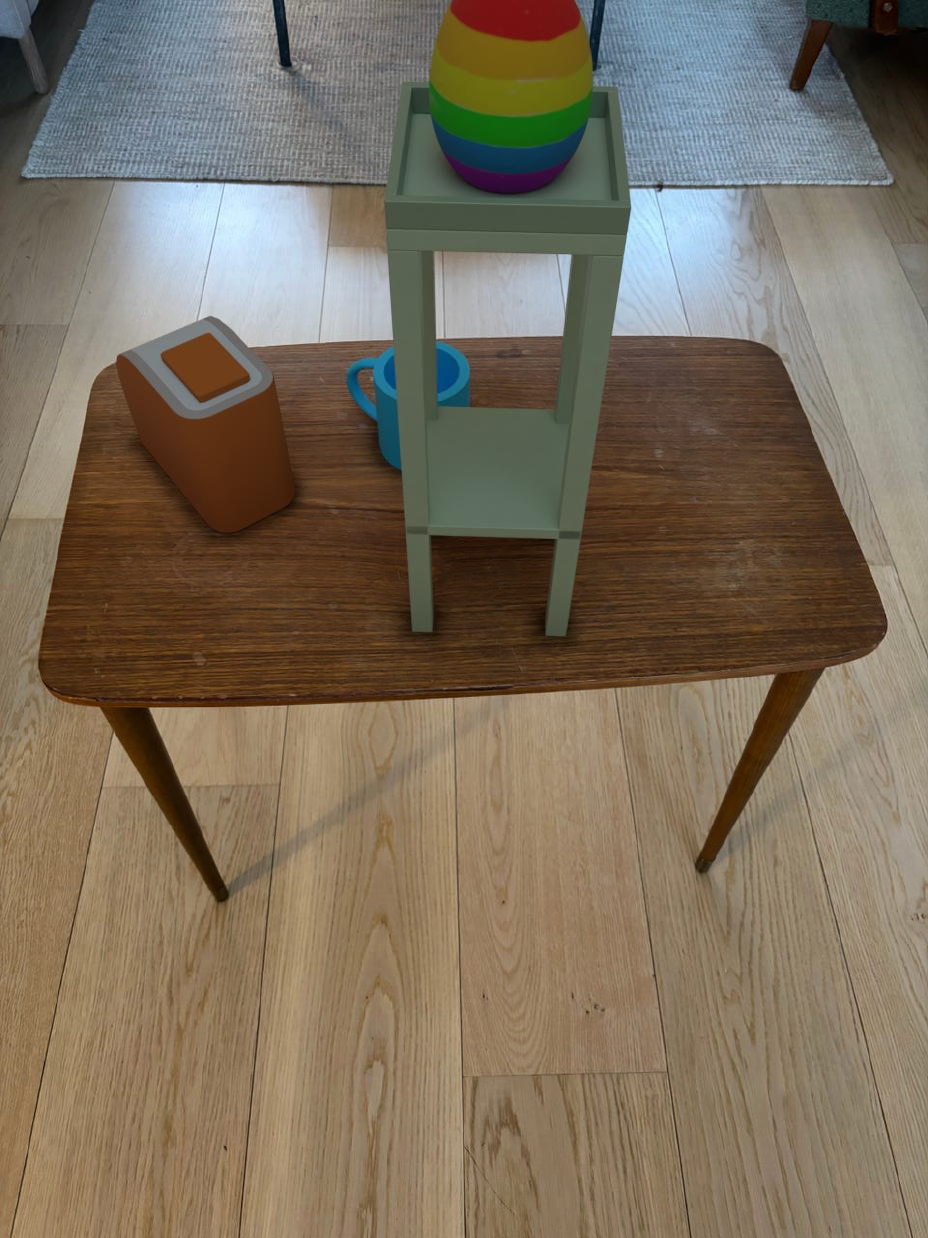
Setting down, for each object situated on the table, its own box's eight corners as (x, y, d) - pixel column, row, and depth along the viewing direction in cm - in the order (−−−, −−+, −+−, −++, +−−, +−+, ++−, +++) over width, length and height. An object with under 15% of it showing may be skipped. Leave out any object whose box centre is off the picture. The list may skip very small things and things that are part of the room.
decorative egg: (413, 198, 51) (405, -19, 43) (450, 119, 55) (449, -89, 47) (570, 219, 50) (592, 1, 42) (594, 137, 54) (618, -73, 46)
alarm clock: (307, 496, 85) (285, 372, 74) (220, 541, 82) (184, 419, 71) (223, 403, 92) (191, 278, 81) (140, 442, 89) (96, 316, 78)
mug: (485, 430, 90) (487, 359, 84) (440, 486, 86) (438, 416, 80) (375, 386, 94) (368, 314, 87) (326, 439, 90) (316, 367, 83)
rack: (562, 521, 84) (617, 85, 55) (565, 636, 77) (631, 206, 48) (421, 517, 84) (402, 80, 55) (412, 631, 77) (383, 200, 48)
